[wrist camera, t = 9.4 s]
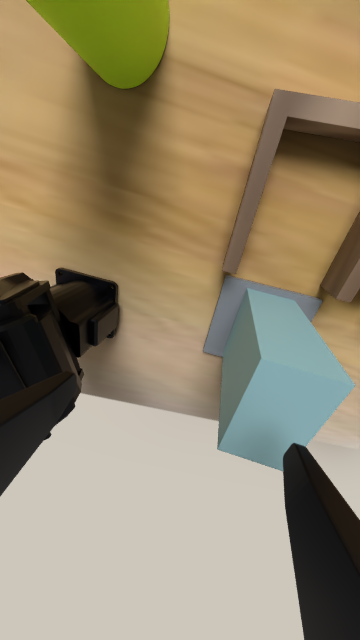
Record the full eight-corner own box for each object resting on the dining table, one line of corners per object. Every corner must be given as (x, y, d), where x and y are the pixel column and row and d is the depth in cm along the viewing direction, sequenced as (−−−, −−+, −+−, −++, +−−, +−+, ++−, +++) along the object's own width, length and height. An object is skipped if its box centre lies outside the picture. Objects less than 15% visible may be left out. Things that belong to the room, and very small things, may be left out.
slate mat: (203, 348, 23) (203, 351, 22) (226, 274, 19) (225, 276, 18) (280, 370, 22) (281, 374, 21) (320, 298, 18) (322, 301, 17)
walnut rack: (223, 262, 18) (222, 270, 16) (269, 104, 14) (278, 78, 11) (391, 303, 17) (420, 320, 14) (507, 145, 12) (583, 127, 10)
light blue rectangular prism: (223, 353, 22) (217, 449, 13) (247, 288, 18) (261, 358, 9) (262, 364, 21) (284, 472, 12) (294, 300, 18) (355, 385, 9)
